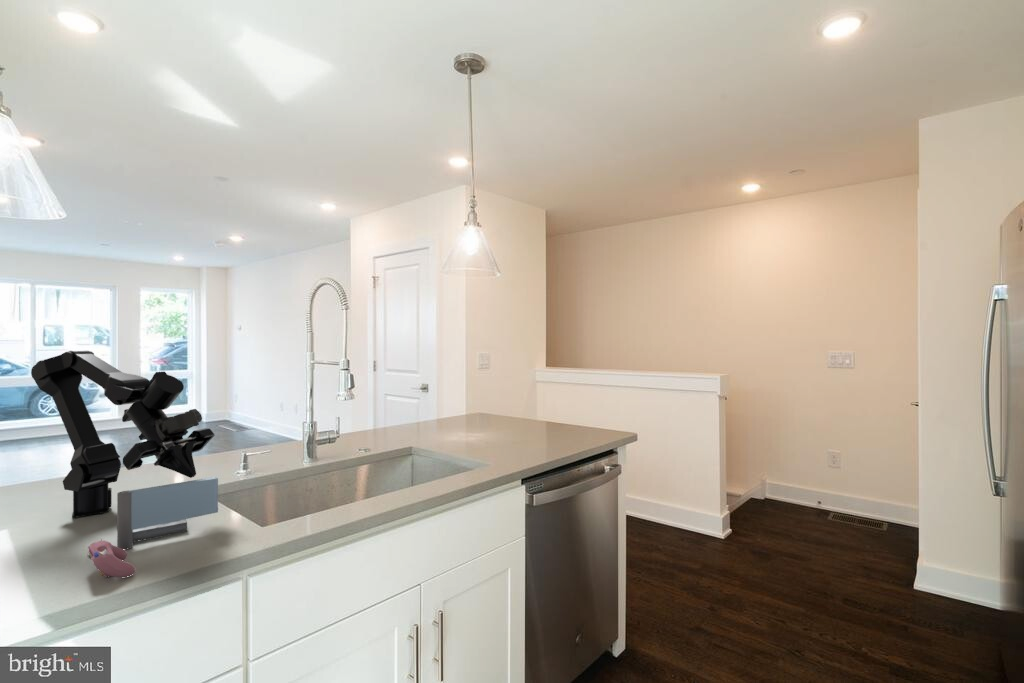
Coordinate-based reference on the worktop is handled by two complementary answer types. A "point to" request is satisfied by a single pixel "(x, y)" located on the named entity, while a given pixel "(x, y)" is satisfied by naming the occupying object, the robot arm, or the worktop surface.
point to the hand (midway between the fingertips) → (193, 476)
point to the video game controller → (110, 559)
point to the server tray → (160, 530)
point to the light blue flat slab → (163, 506)
